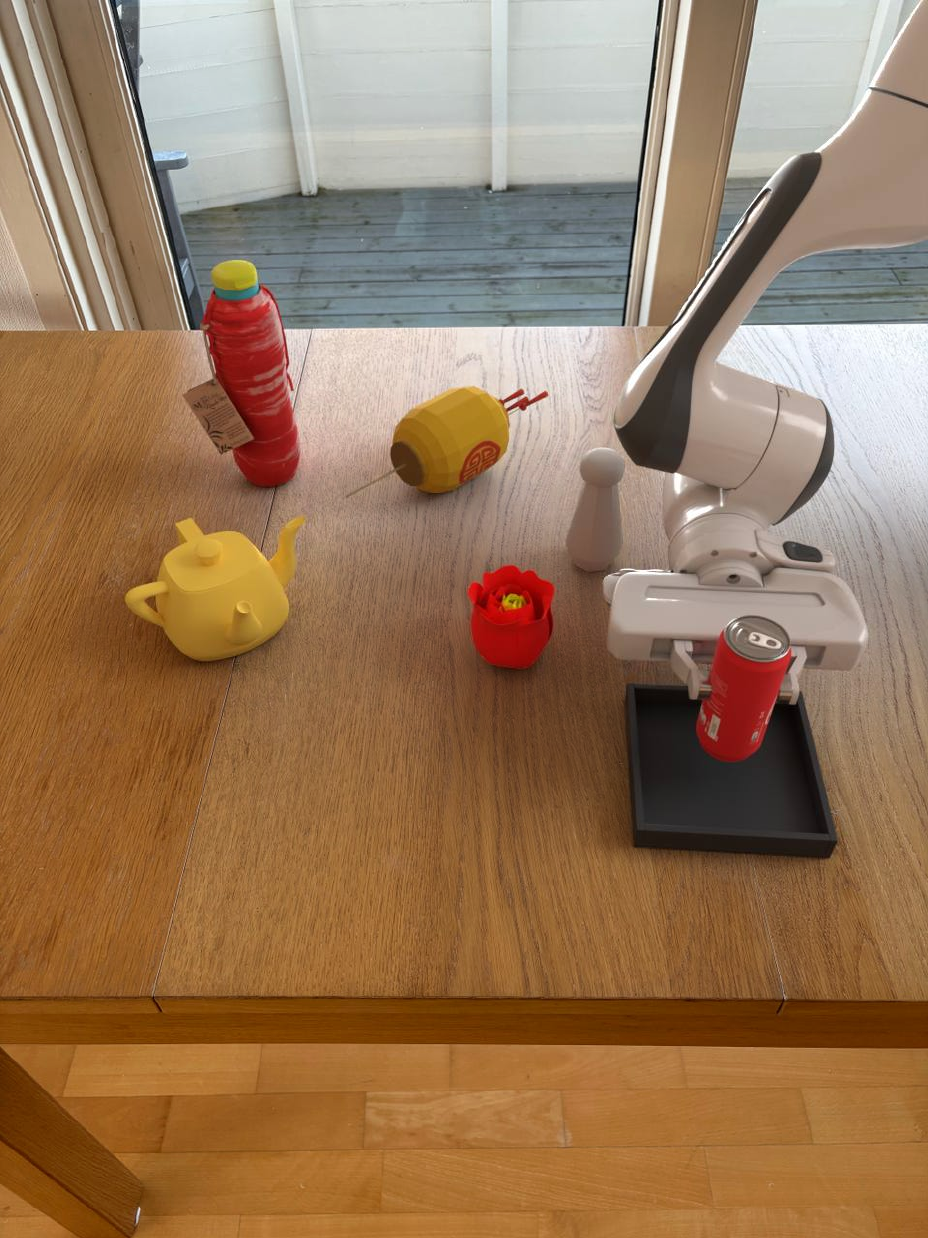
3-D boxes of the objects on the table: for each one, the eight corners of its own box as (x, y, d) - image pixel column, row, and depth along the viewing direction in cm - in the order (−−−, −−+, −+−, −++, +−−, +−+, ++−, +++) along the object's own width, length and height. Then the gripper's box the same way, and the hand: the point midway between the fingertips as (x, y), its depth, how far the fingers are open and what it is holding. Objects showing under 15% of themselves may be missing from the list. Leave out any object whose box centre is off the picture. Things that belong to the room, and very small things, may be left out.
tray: (795, 709, 85) (802, 690, 83) (829, 858, 74) (838, 841, 72) (624, 701, 86) (627, 682, 84) (633, 847, 75) (637, 829, 73)
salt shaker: (626, 574, 98) (641, 470, 89) (572, 581, 97) (582, 476, 88) (610, 538, 102) (624, 436, 93) (558, 544, 101) (567, 442, 92)
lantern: (519, 334, 112) (319, 434, 97) (579, 380, 109) (381, 492, 94) (504, 399, 120) (316, 501, 105) (559, 444, 117) (373, 556, 102)
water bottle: (235, 516, 105) (186, 303, 88) (198, 484, 110) (145, 275, 92) (323, 473, 111) (294, 265, 93) (285, 444, 115) (250, 240, 98)
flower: (458, 636, 92) (456, 574, 86) (530, 615, 94) (534, 553, 88) (489, 693, 86) (490, 631, 81) (566, 669, 88) (572, 607, 83)
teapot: (265, 687, 87) (247, 609, 80) (133, 661, 90) (105, 583, 83) (318, 588, 97) (307, 511, 90) (198, 567, 99) (177, 491, 92)
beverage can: (703, 707, 79) (731, 604, 71) (765, 729, 78) (801, 625, 69) (685, 752, 76) (712, 649, 68) (750, 775, 74) (785, 673, 66)
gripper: (604, 541, 80) (610, 661, 70) (852, 551, 79) (894, 675, 69) (597, 596, 84) (602, 716, 74) (832, 606, 83) (868, 730, 73)
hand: (745, 697), depth 72 cm, fingers closed on beverage can, 5 cm apart
